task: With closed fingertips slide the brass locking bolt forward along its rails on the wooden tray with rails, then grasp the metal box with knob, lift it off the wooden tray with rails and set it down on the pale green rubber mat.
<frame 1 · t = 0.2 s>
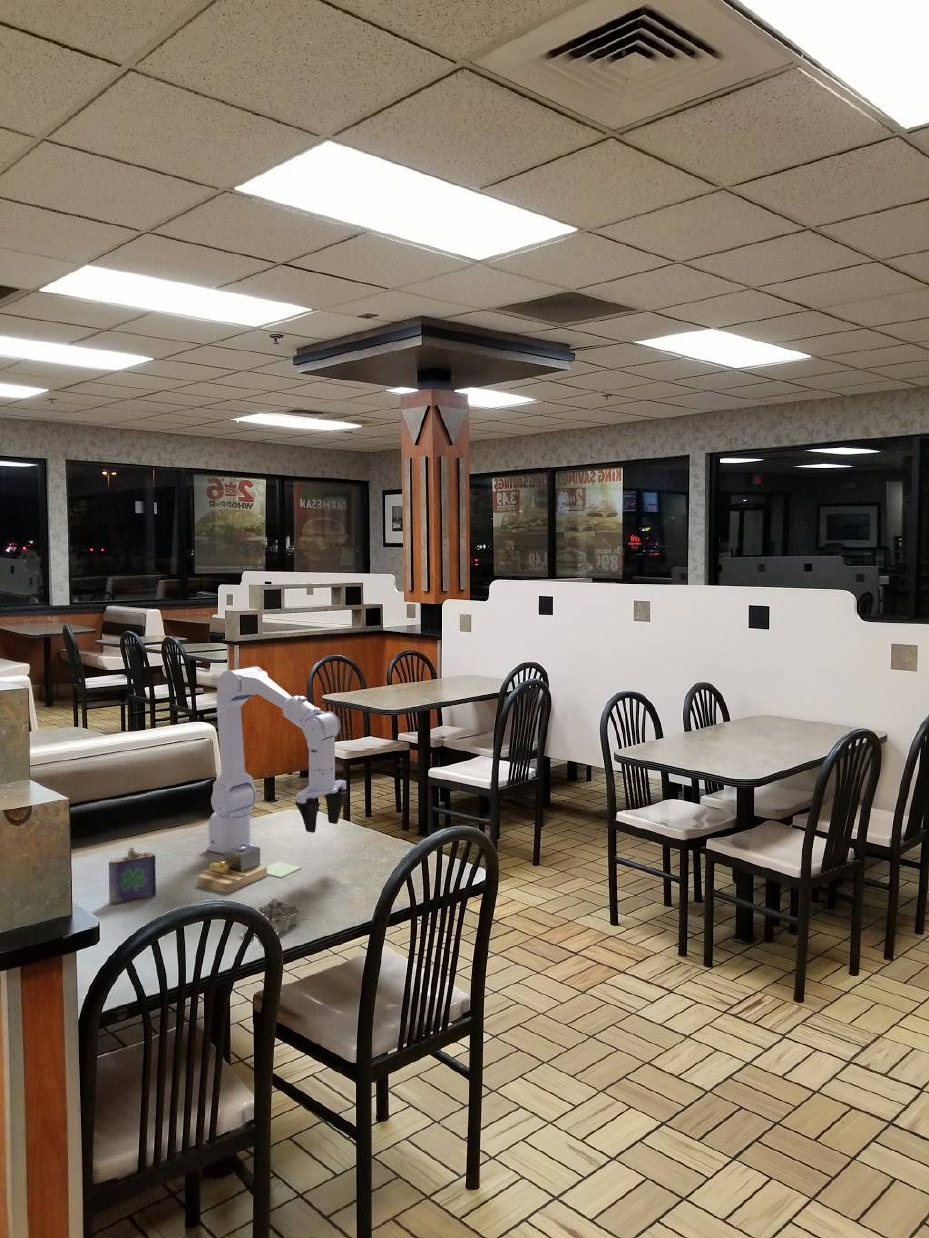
hand: (322, 827, 211), 10 cm above the table, fingers open, 7 cm apart
wooden tray with rails: (232, 880, 205), on the table
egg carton: (272, 929, 181), on the table
bolt: (219, 867, 204), point 3 cm above the table, slide at 0.0 cm, touching wooden tray with rails
metal box with knob: (242, 867, 208), point 2 cm above the table, touching wooden tray with rails
flask: (132, 900, 194), on the table
mat: (279, 870, 212), on the table
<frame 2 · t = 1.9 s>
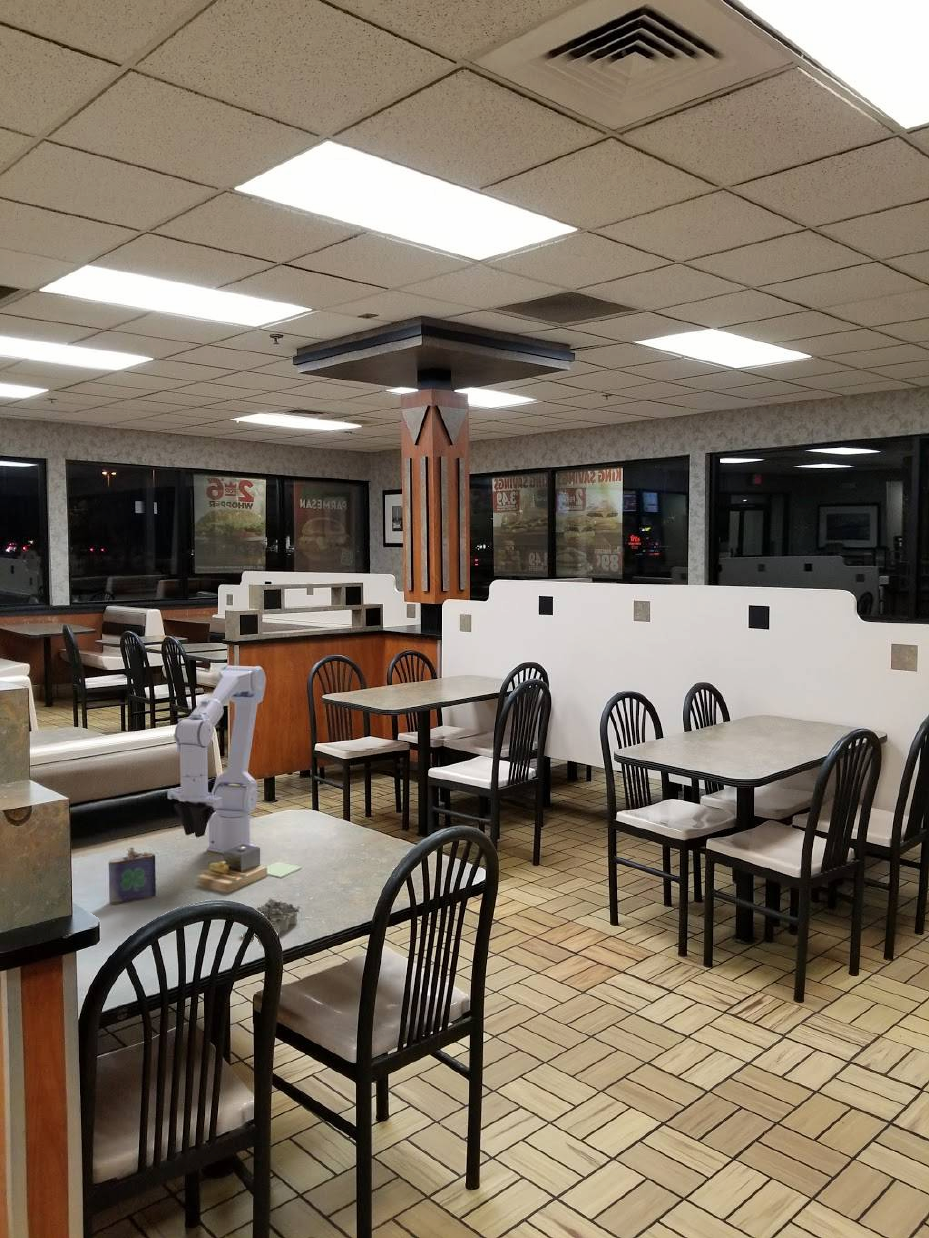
hand: (195, 834, 207), 9 cm above the table, fingers closed
nothing on the table moved.
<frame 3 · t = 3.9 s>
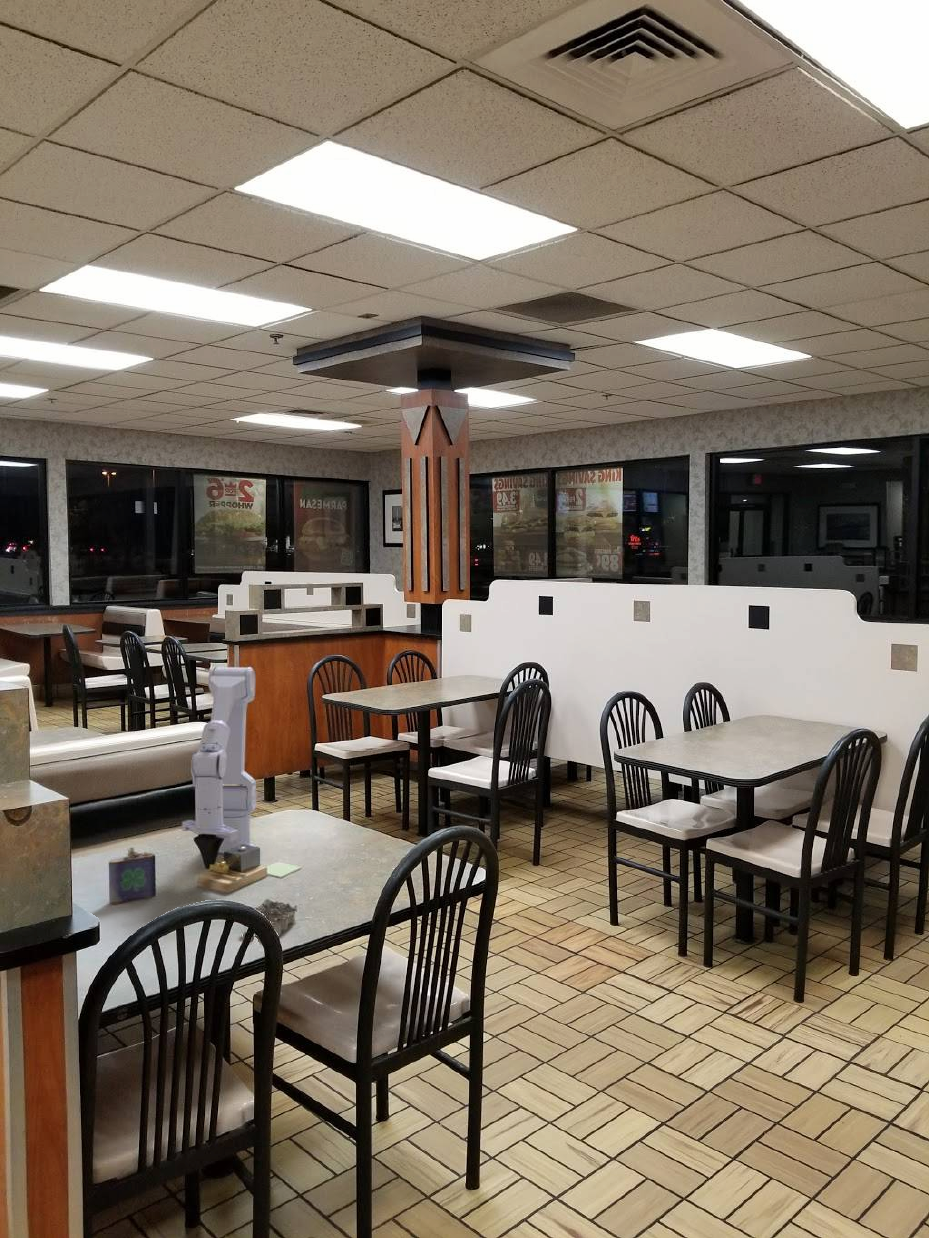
hand: (210, 867, 205), 3 cm above the table, fingers closed, pressing on bolt
bolt: (219, 867, 204), point 3 cm above the table, slide at 0.0 cm, touching gripper, wooden tray with rails
everything else where it was.
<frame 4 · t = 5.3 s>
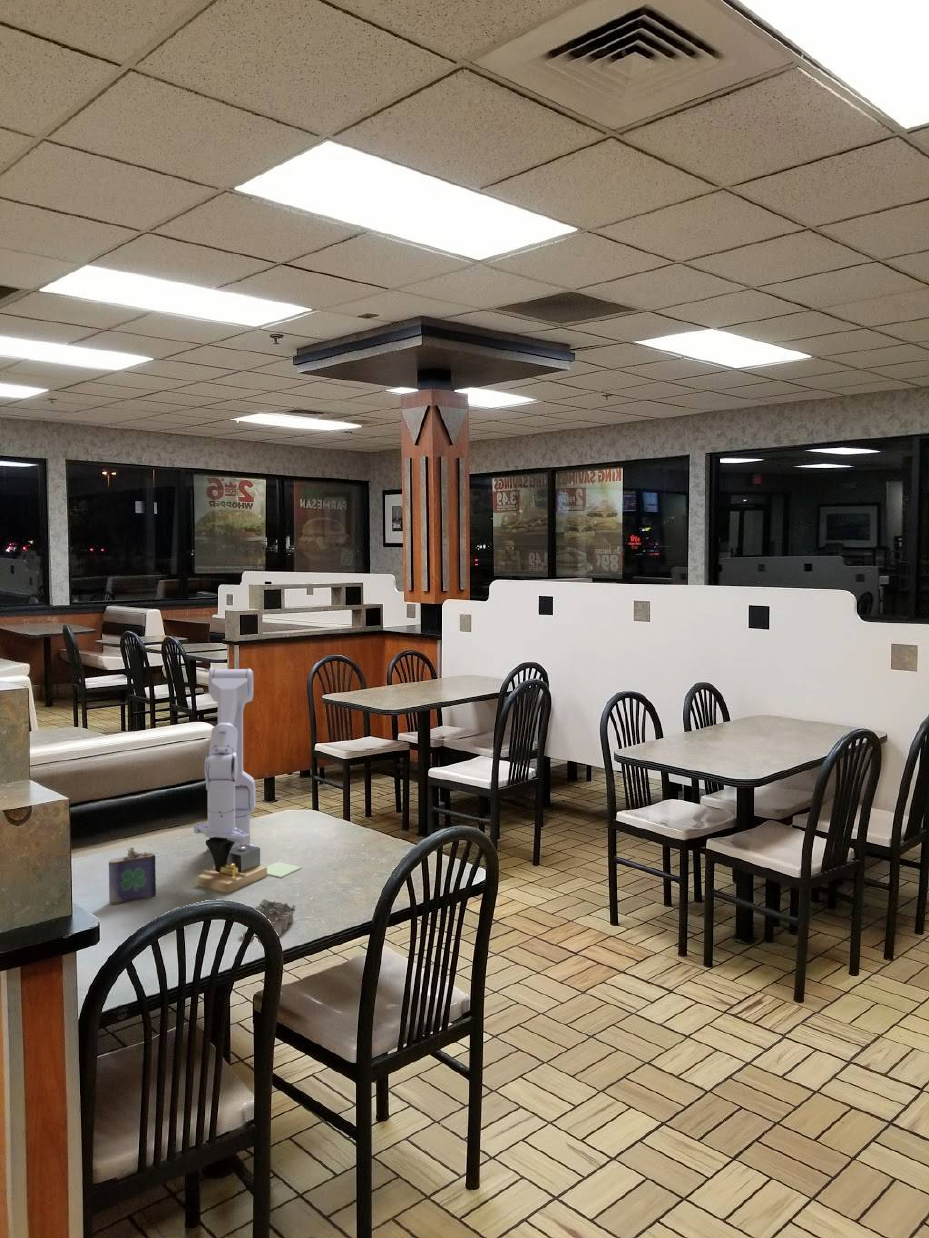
hand: (221, 870, 203), 3 cm above the table, fingers closed, pressing on bolt
bolt: (228, 869, 202), point 3 cm above the table, slide at 2.7 cm, touching gripper, wooden tray with rails
everything else where it was.
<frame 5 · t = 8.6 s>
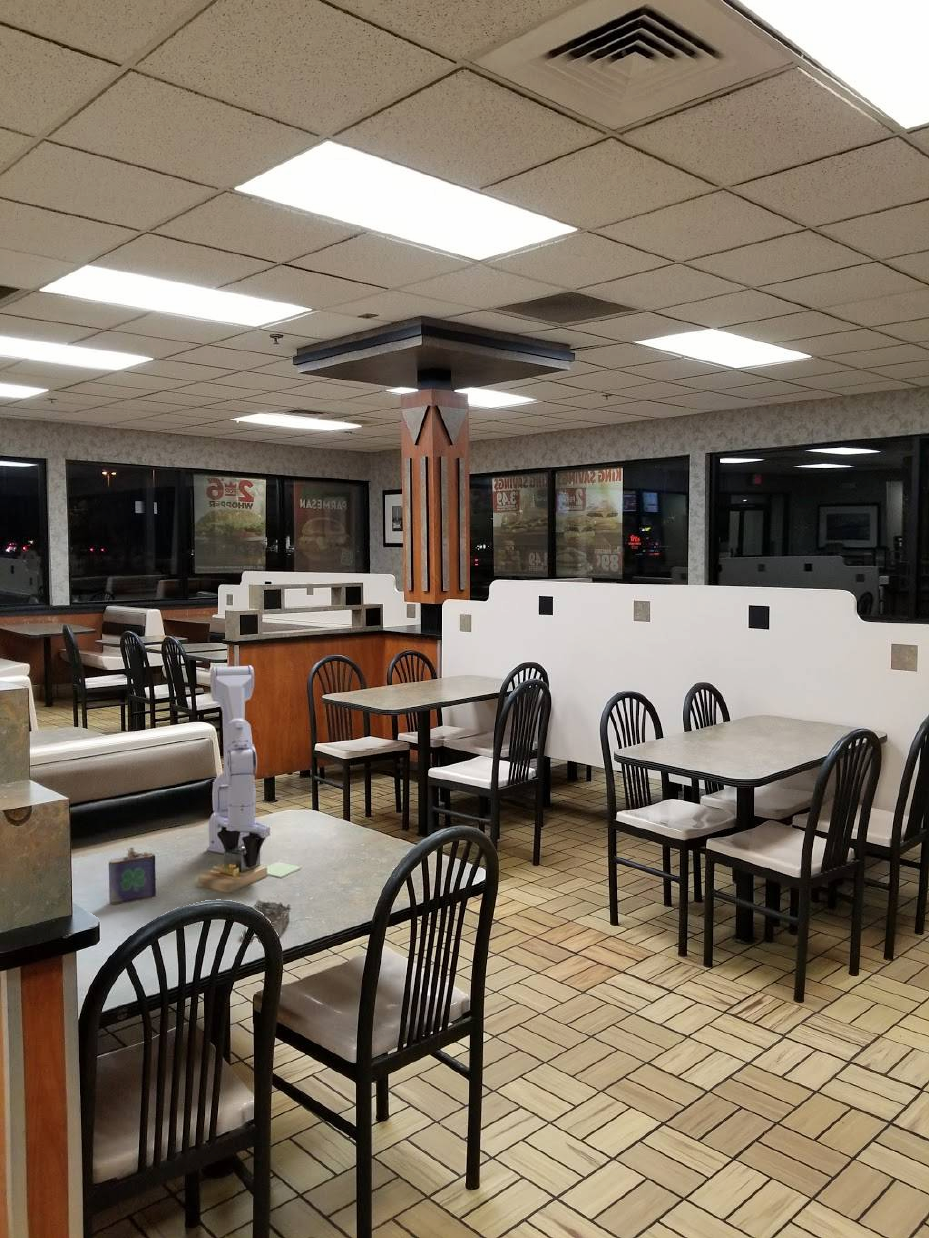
hand: (242, 863, 208), 3 cm above the table, fingers closed on metal box with knob, 5 cm apart
bolt: (229, 869, 202), point 3 cm above the table, slide at 2.9 cm, touching wooden tray with rails
metal box with knob: (242, 867, 208), point 2 cm above the table, touching gripper, wooden tray with rails
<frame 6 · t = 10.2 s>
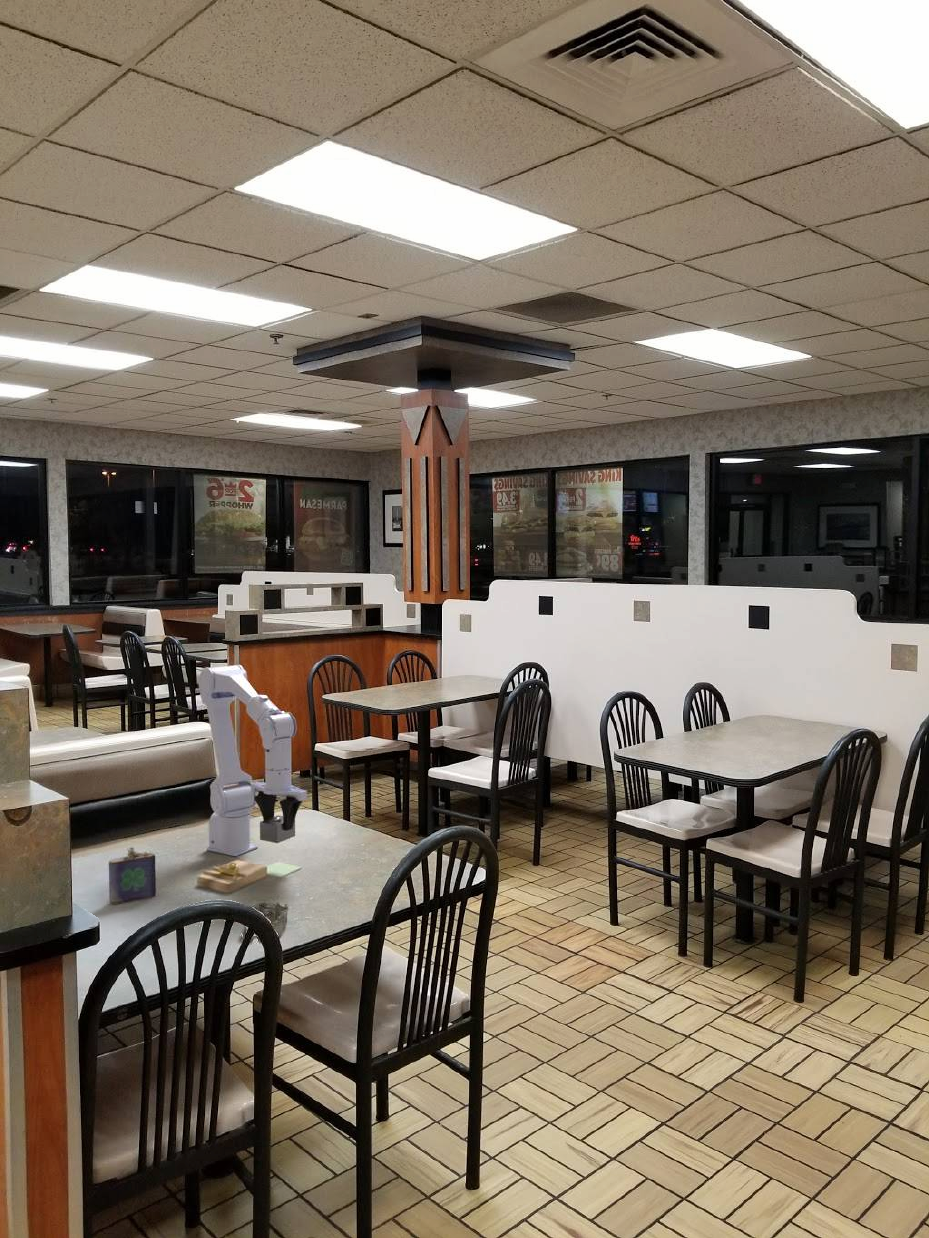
hand: (278, 827, 211), 10 cm above the table, fingers closed on metal box with knob, 5 cm apart
metal box with knob: (277, 837, 211), point 8 cm above the table, touching gripper
when the fingers open (2 cm above the table, at t = 12.1 s): metal box with knob stays where it is, resting on mat.
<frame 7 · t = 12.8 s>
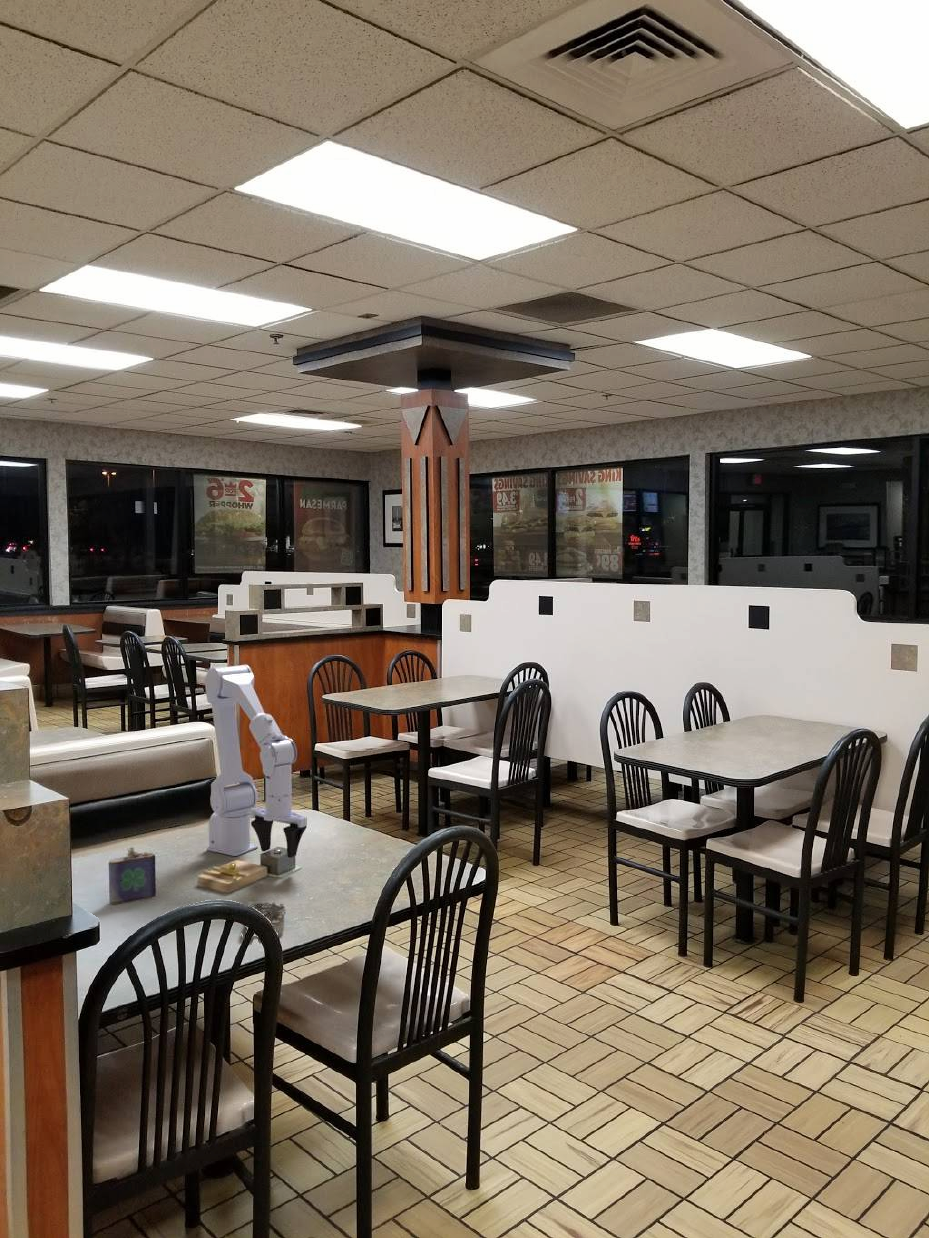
hand: (278, 853, 212), 4 cm above the table, fingers open, 7 cm apart
metal box with knob: (278, 869, 212), resting on mat
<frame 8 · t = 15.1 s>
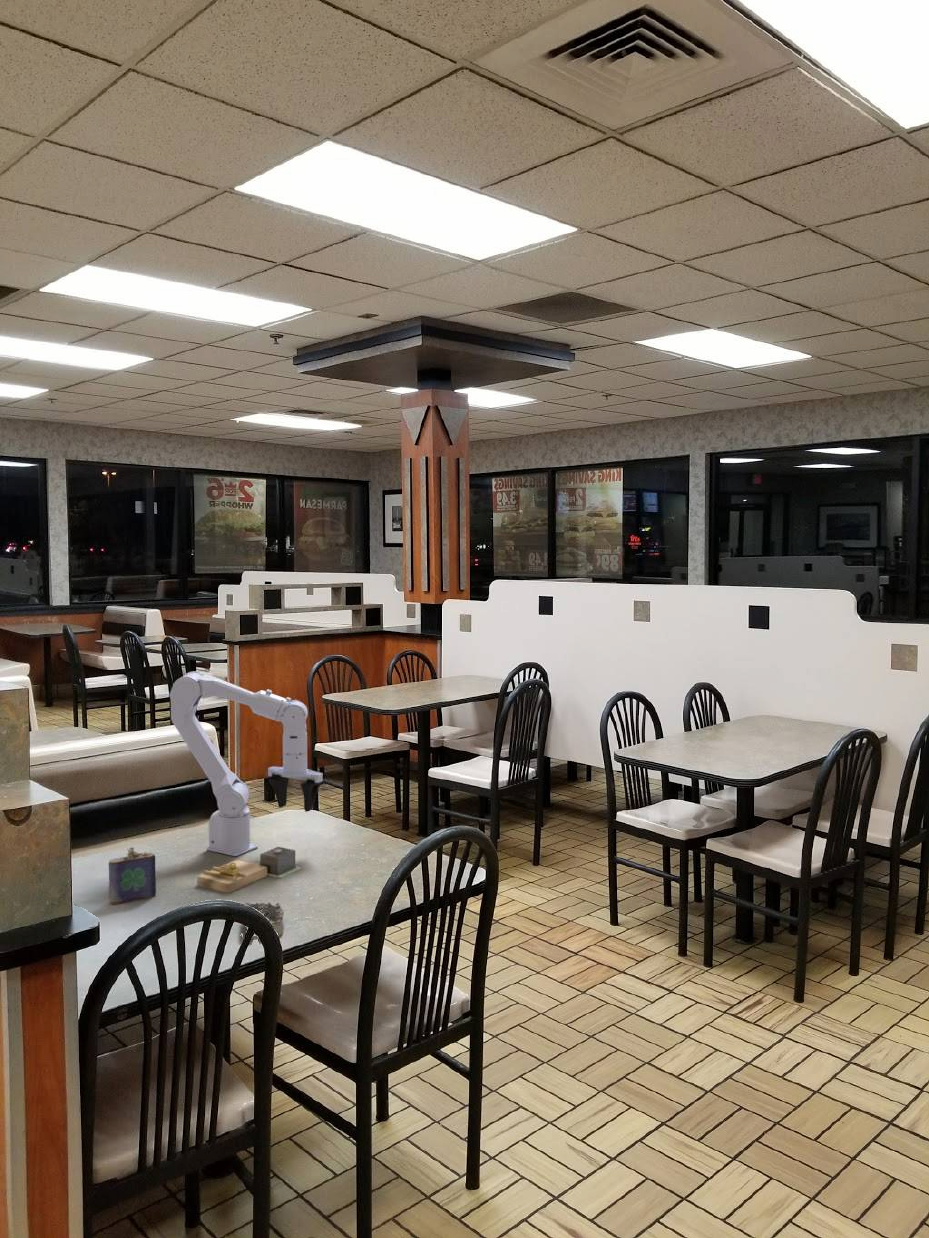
hand: (295, 808, 226), 10 cm above the table, fingers open, 7 cm apart
at the end: bolt slide at 2.9 cm; metal box with knob inside the target area on the mat (0.4 cm from its centre), point 0.3 cm above the mat's base; metal box with knob touching mat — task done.
